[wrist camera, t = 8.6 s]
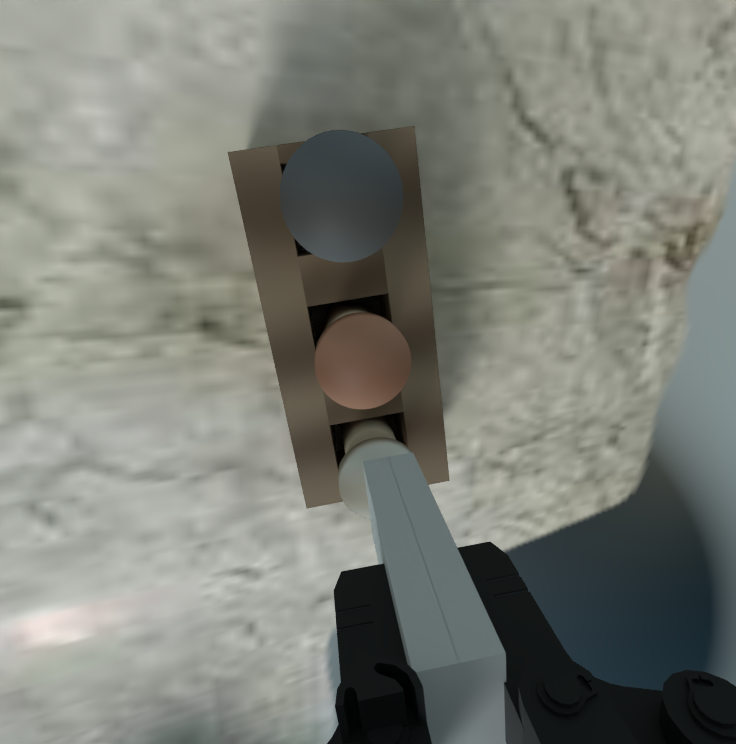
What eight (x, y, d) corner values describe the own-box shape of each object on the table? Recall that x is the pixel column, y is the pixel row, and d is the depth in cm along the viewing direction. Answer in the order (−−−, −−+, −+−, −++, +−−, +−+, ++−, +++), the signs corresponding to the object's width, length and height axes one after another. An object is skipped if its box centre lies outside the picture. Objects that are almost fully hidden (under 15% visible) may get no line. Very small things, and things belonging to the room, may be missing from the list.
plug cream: (326, 397, 31) (332, 454, 23) (390, 385, 31) (417, 438, 24) (337, 454, 32) (346, 526, 25) (398, 443, 33) (425, 510, 25)
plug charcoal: (281, 166, 23) (267, 139, 16) (367, 153, 23) (395, 121, 16) (297, 255, 24) (293, 271, 17) (379, 242, 25) (409, 252, 17)
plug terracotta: (307, 296, 28) (306, 325, 20) (379, 285, 28) (405, 308, 20) (320, 365, 29) (324, 417, 21) (388, 353, 29) (416, 400, 22)
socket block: (242, 164, 26) (227, 152, 22) (395, 142, 27) (414, 126, 22) (307, 467, 33) (306, 508, 28) (429, 444, 34) (449, 480, 29)
